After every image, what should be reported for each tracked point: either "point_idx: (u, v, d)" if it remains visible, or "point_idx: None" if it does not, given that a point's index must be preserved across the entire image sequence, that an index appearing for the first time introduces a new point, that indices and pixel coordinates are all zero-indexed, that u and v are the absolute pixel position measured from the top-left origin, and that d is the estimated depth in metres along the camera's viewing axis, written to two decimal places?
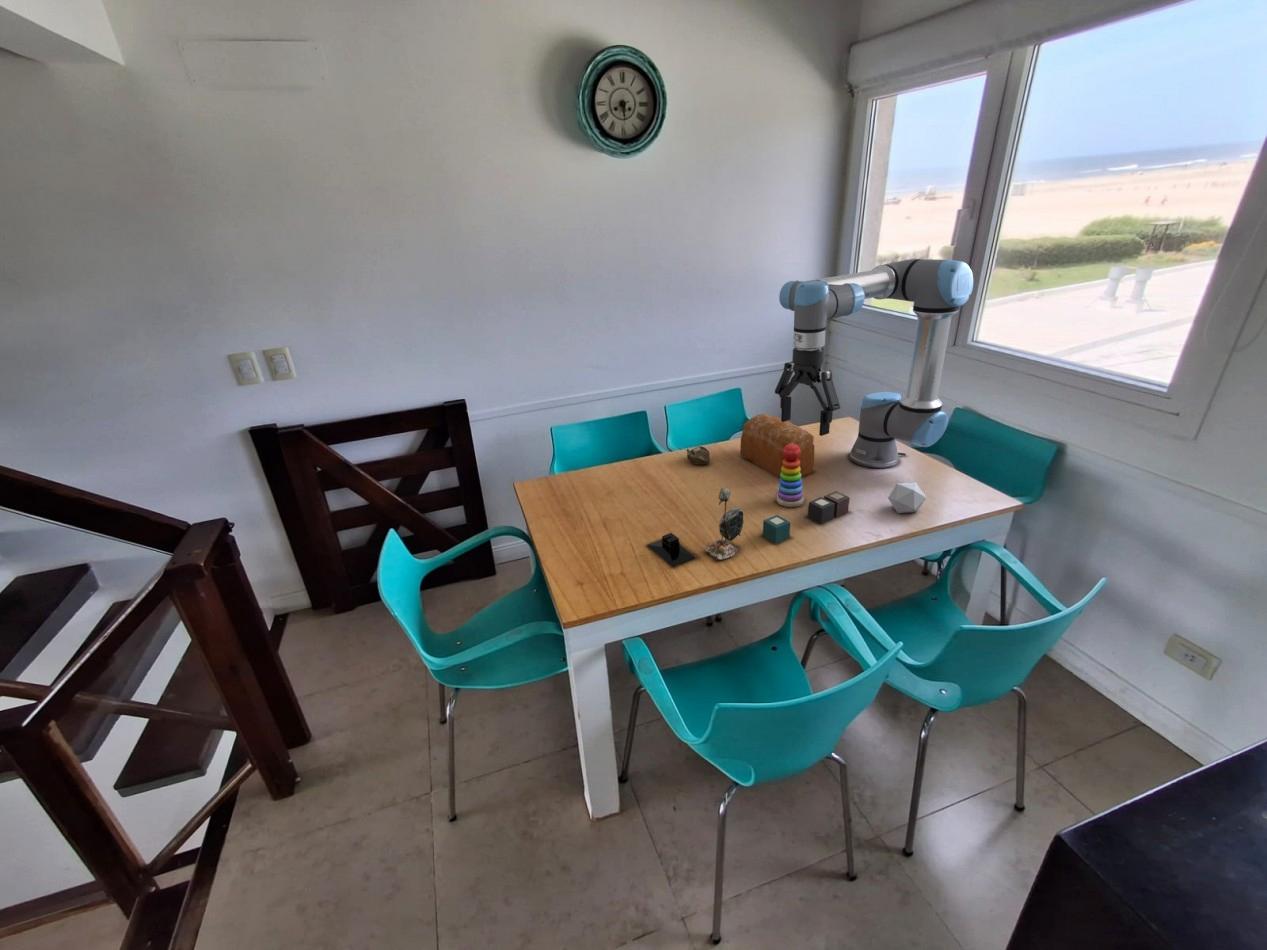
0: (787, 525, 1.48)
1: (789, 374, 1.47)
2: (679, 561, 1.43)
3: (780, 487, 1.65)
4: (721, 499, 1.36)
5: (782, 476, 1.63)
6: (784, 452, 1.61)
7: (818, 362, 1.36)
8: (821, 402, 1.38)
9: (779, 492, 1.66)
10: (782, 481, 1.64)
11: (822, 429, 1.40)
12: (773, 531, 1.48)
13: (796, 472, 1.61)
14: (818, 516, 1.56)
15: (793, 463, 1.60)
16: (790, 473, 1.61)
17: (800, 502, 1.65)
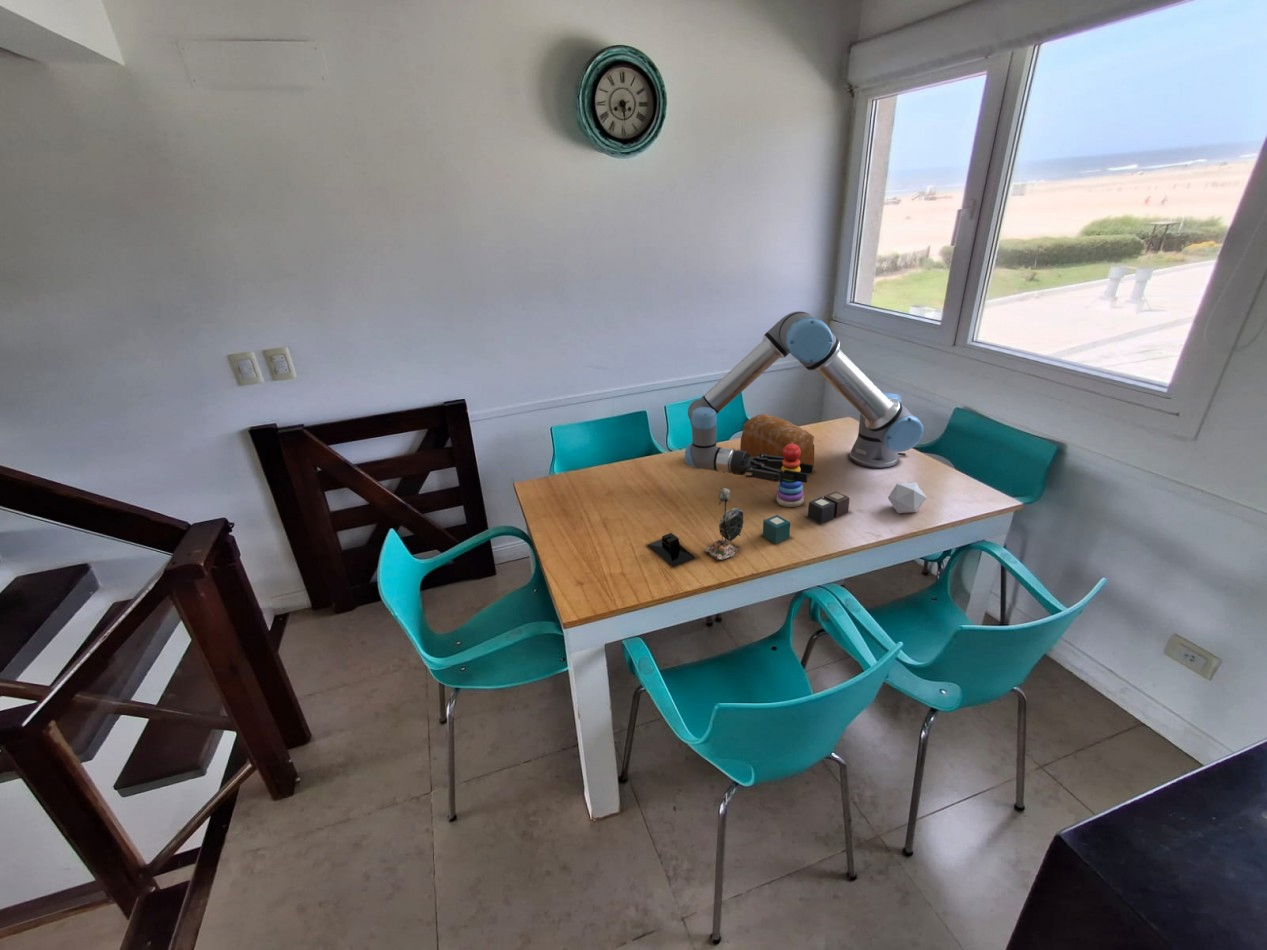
0: (787, 525, 1.48)
1: (767, 459, 1.71)
2: (679, 561, 1.43)
3: (780, 487, 1.65)
4: (721, 499, 1.36)
5: None
6: (784, 452, 1.61)
7: (739, 468, 1.68)
8: None
9: (779, 492, 1.66)
10: None
11: (800, 481, 1.60)
12: (773, 531, 1.48)
13: None
14: (818, 516, 1.56)
15: (793, 463, 1.60)
16: None
17: (800, 502, 1.65)
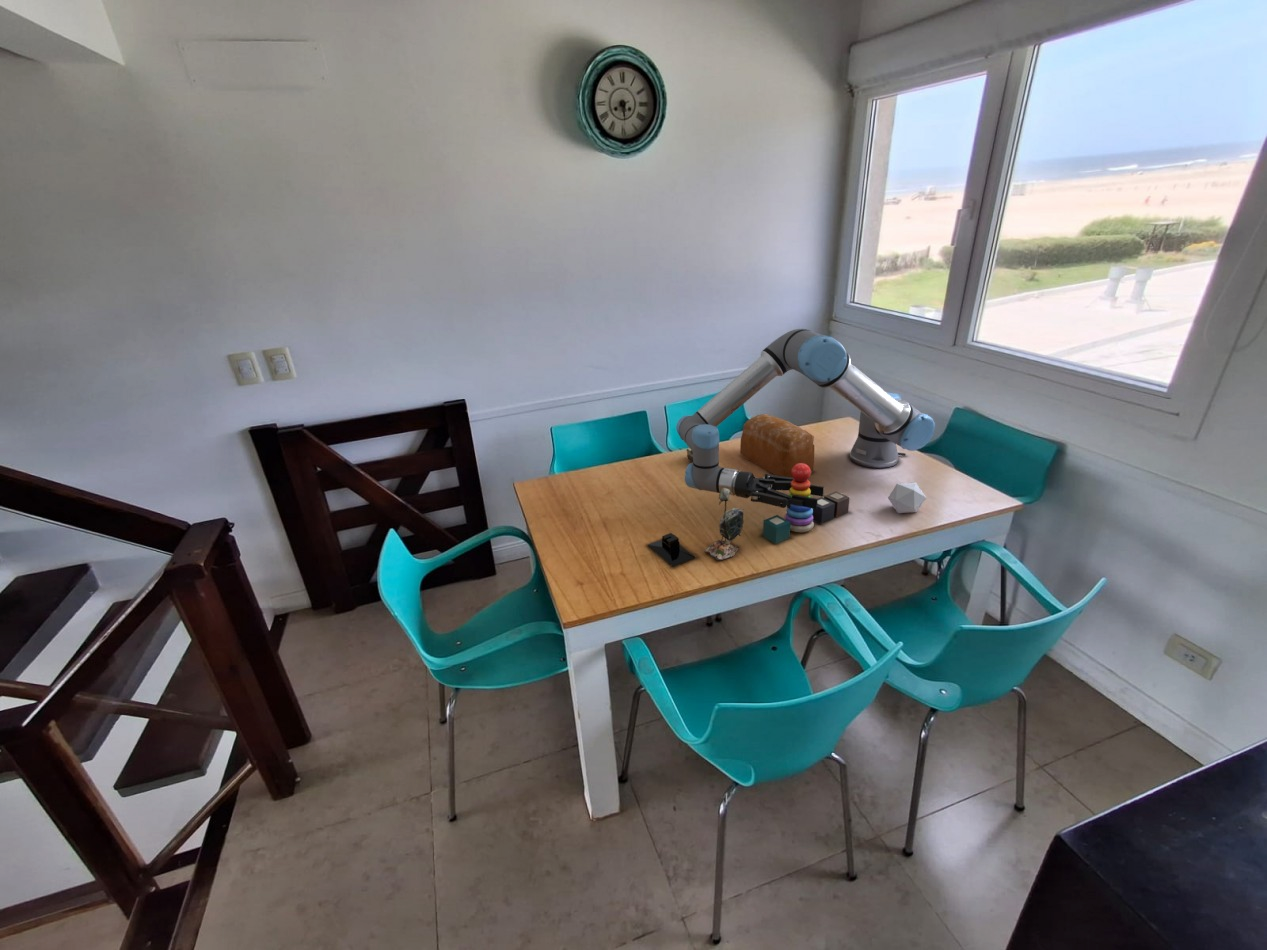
0: (787, 525, 1.48)
1: (774, 480, 1.58)
2: (679, 561, 1.43)
3: (788, 510, 1.52)
4: (721, 499, 1.36)
5: None
6: (793, 472, 1.48)
7: (743, 491, 1.55)
8: None
9: (787, 515, 1.53)
10: None
11: (809, 506, 1.46)
12: (773, 531, 1.48)
13: (806, 494, 1.48)
14: (818, 516, 1.56)
15: (803, 484, 1.48)
16: None
17: (810, 527, 1.51)
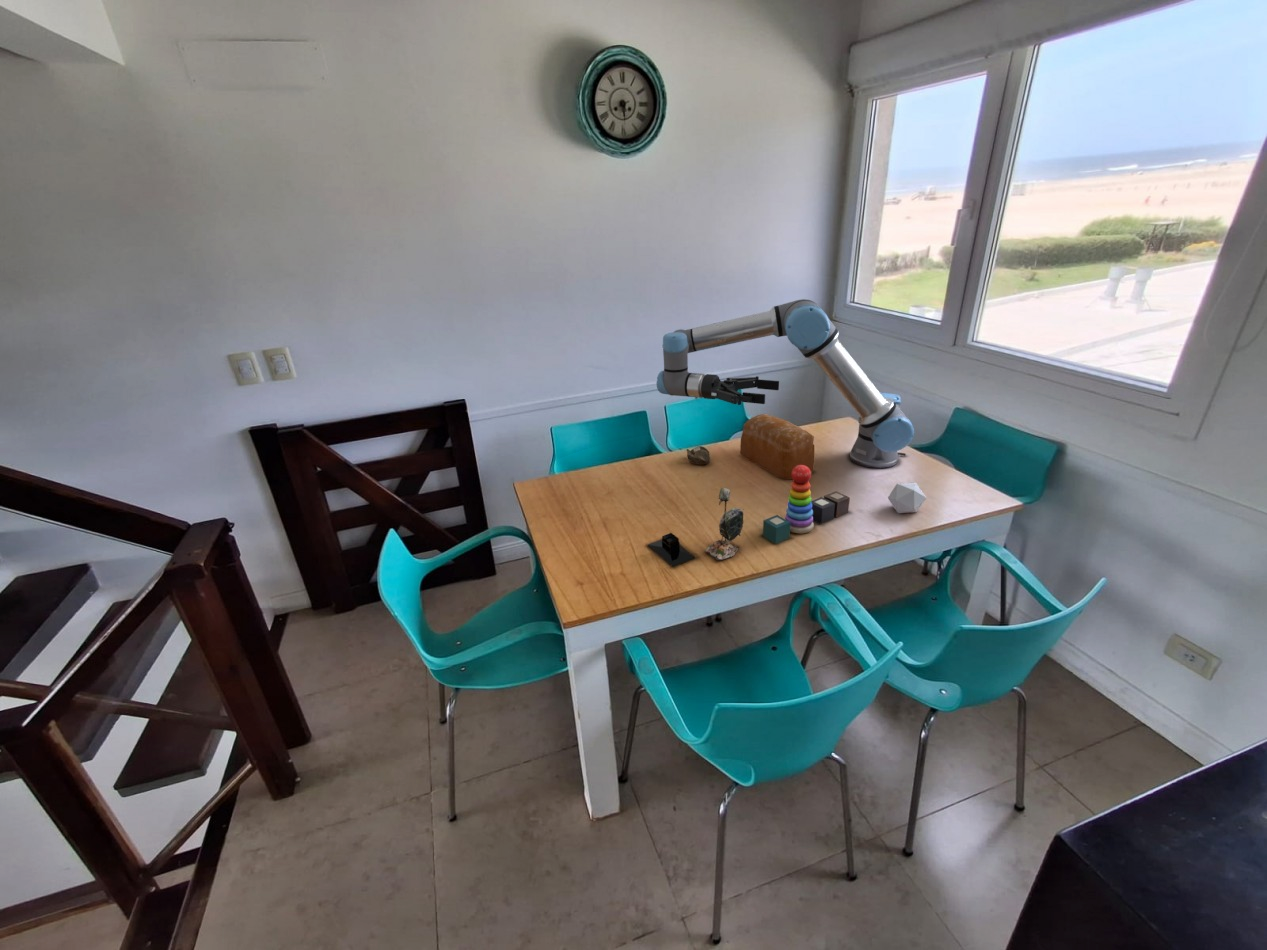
0: (787, 525, 1.48)
1: None
2: (679, 561, 1.43)
3: (788, 511, 1.52)
4: (721, 499, 1.36)
5: (790, 500, 1.50)
6: (793, 474, 1.47)
7: (709, 391, 1.68)
8: None
9: (787, 516, 1.53)
10: (790, 505, 1.51)
11: (758, 402, 1.58)
12: (773, 531, 1.48)
13: (806, 496, 1.48)
14: (818, 516, 1.56)
15: (803, 486, 1.47)
16: (799, 497, 1.48)
17: (810, 528, 1.51)
